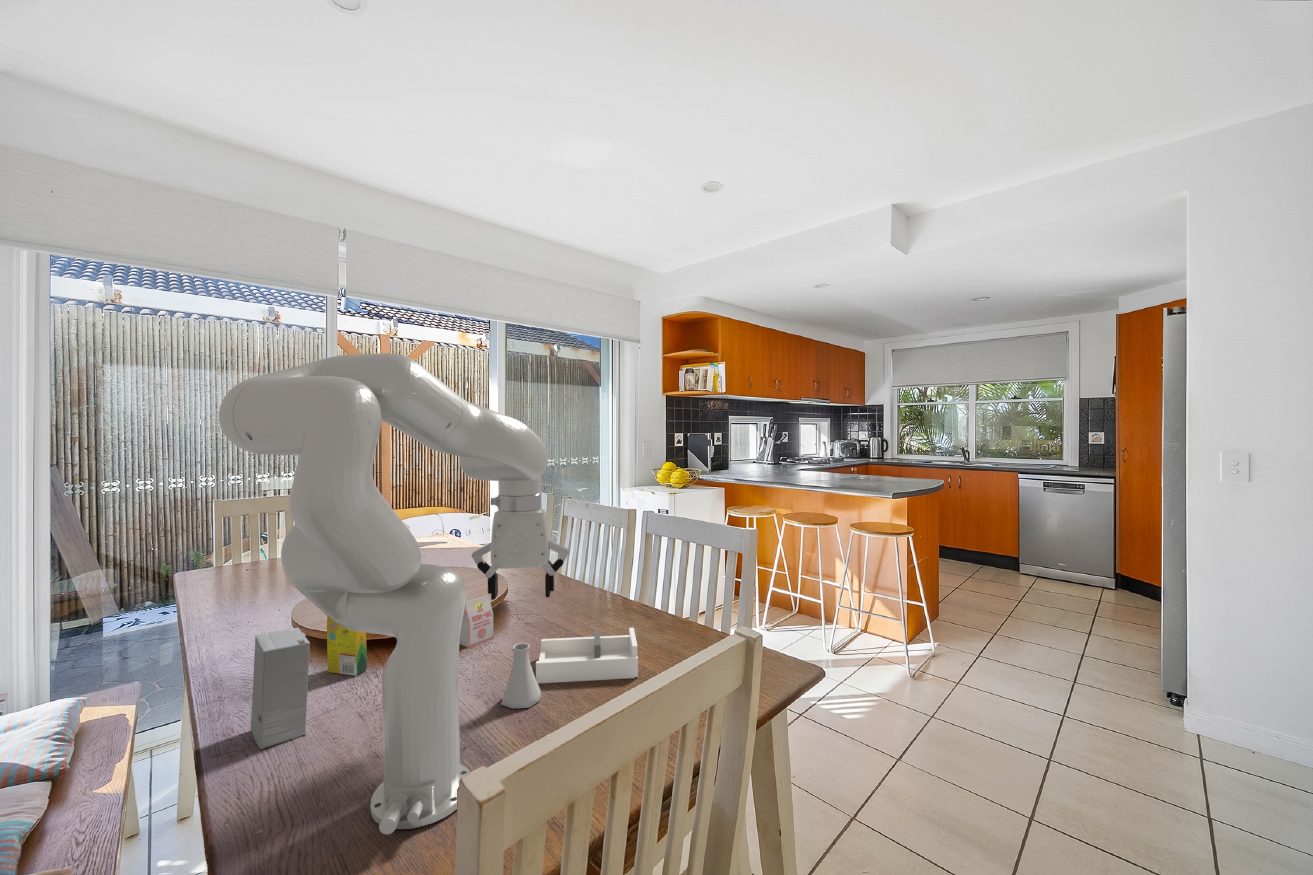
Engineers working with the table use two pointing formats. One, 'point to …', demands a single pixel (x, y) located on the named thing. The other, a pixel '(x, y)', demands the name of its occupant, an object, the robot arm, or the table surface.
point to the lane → (587, 659)
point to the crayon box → (345, 650)
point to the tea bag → (476, 622)
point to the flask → (521, 681)
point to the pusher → (597, 644)
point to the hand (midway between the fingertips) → (521, 596)
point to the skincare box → (280, 687)
